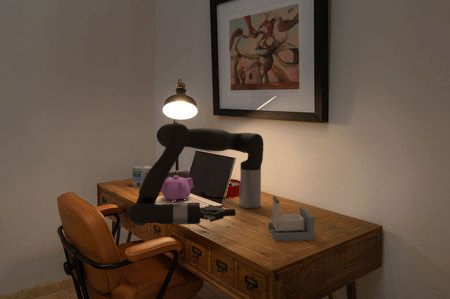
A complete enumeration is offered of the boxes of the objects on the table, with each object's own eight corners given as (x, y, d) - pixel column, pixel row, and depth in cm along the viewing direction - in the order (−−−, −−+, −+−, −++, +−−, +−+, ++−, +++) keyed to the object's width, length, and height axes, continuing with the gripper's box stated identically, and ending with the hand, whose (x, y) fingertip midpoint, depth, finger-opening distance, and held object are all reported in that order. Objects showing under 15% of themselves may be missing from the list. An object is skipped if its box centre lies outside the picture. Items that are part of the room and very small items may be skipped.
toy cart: (272, 228, 148) (272, 195, 147) (299, 227, 149) (299, 195, 147) (276, 235, 141) (276, 200, 140) (304, 234, 142) (305, 200, 141)
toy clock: (195, 182, 205) (223, 176, 219) (195, 193, 206) (223, 187, 220) (221, 188, 191) (250, 182, 205) (221, 200, 192) (250, 193, 205)
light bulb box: (132, 186, 221) (131, 167, 220) (137, 184, 228) (136, 165, 226) (150, 187, 219) (150, 168, 218) (155, 184, 226) (154, 165, 225)
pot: (167, 206, 182) (166, 181, 180) (152, 198, 196) (151, 174, 195) (201, 200, 192) (201, 176, 190) (184, 193, 206) (184, 170, 205)
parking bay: (268, 228, 152) (268, 207, 150) (303, 227, 153) (303, 206, 152) (275, 240, 138) (275, 218, 137) (313, 239, 139) (314, 217, 138)
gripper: (186, 208, 134) (237, 207, 135) (186, 198, 147) (233, 197, 149) (186, 229, 135) (237, 228, 136) (186, 218, 148) (233, 216, 150)
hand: (235, 212), depth 142 cm, fingers closed
